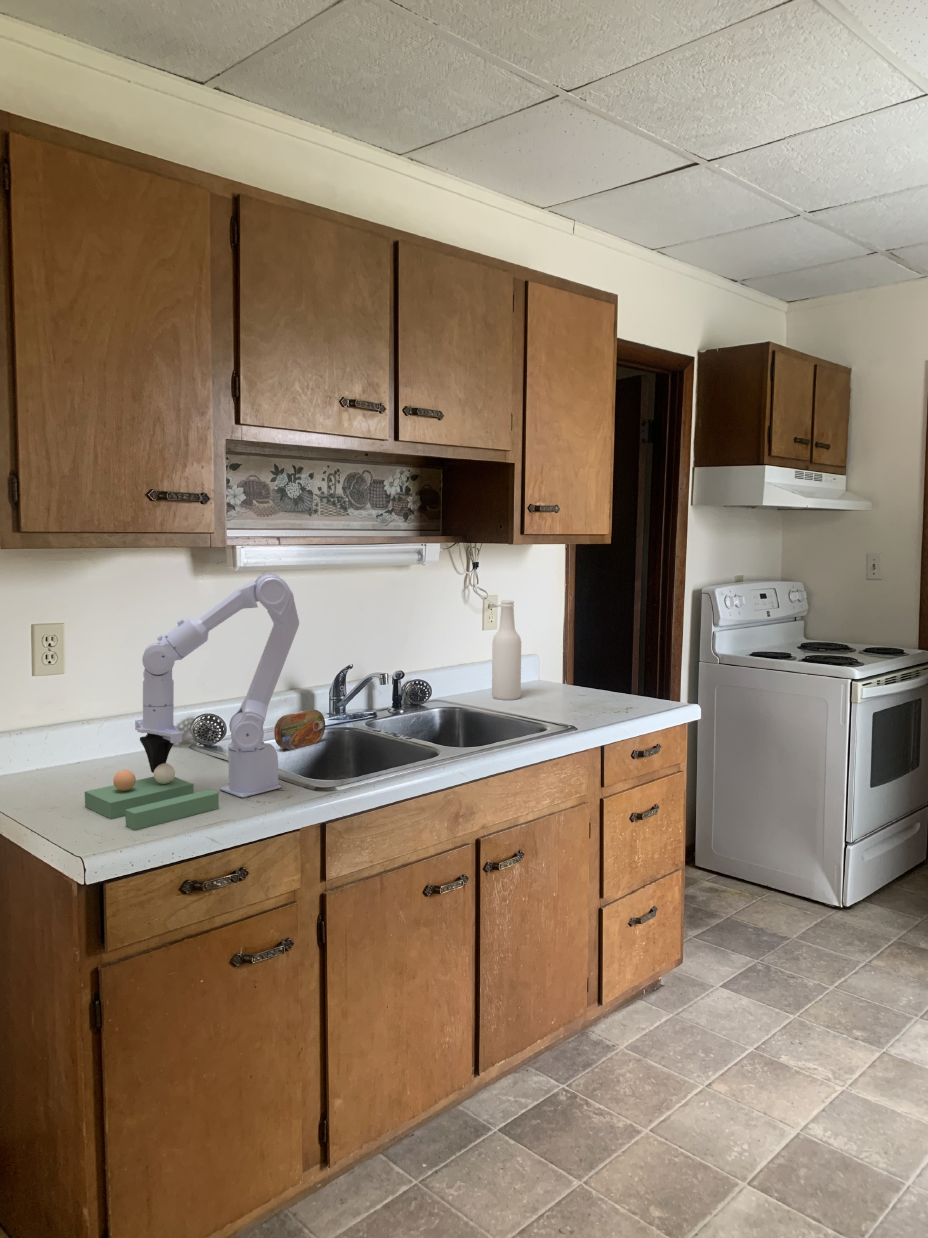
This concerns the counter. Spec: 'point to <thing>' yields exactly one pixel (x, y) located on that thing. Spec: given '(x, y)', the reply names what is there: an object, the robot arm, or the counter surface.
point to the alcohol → (506, 656)
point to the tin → (299, 729)
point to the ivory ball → (164, 773)
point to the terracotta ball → (124, 780)
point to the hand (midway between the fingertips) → (157, 772)
